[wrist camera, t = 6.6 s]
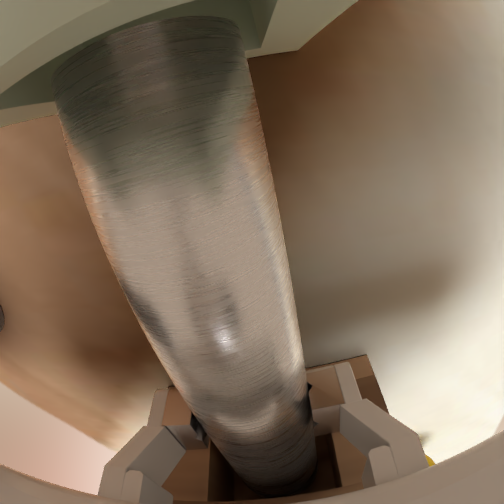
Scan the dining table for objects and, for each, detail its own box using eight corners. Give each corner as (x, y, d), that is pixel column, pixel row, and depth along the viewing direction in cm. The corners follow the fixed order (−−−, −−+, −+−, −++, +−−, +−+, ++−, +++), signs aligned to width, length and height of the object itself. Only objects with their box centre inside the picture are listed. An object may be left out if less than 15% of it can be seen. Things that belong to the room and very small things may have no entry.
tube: (100, 87, 6) (9, 92, 3) (240, 44, 6) (239, -5, 3) (241, 441, 14) (242, 502, 10) (312, 430, 13) (322, 493, 10)
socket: (167, 386, 14) (145, 521, 8) (366, 354, 14) (415, 493, 7) (199, 432, 17) (191, 540, 10) (361, 407, 16) (391, 516, 9)
